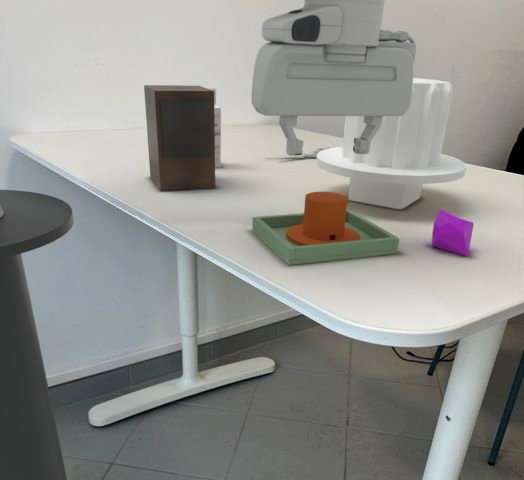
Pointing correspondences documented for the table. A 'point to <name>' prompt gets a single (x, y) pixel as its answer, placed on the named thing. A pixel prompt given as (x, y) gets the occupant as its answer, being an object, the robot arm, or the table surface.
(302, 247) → the tray
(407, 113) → the flanged gear
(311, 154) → the scissors
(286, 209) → the table surface
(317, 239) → the hat
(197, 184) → the cabinet
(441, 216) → the crystal
